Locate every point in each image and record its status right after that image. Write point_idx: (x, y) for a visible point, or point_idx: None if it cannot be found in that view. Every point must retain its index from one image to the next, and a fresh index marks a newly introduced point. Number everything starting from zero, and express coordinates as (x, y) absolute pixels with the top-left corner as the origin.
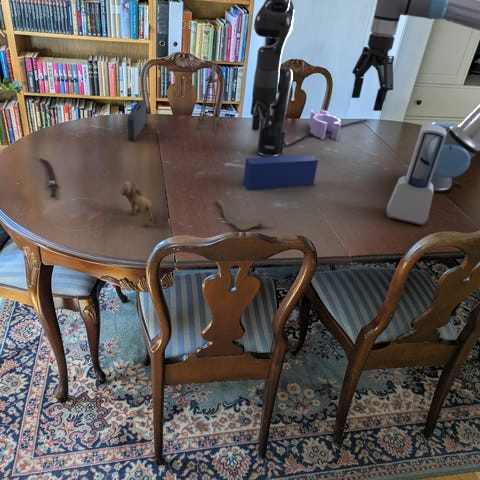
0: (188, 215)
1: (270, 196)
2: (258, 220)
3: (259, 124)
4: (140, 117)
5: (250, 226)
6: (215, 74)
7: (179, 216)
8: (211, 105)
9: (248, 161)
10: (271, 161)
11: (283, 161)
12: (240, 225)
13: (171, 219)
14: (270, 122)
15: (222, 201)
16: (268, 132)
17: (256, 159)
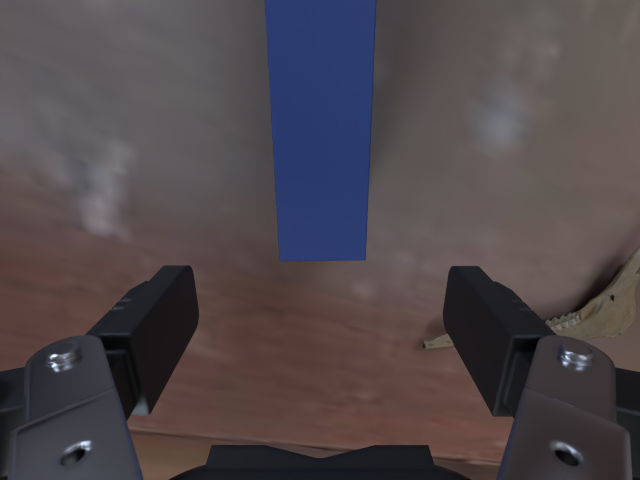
0: (469, 422)
1: (425, 135)
2: (631, 276)
3: (166, 295)
4: None
5: (630, 302)
6: None
7: (466, 440)
8: None
9: (325, 259)
10: (350, 119)
11: (363, 23)
12: (610, 328)
13: (474, 457)
14: (614, 409)
15: (442, 337)
16: (543, 327)
17: (309, 208)
